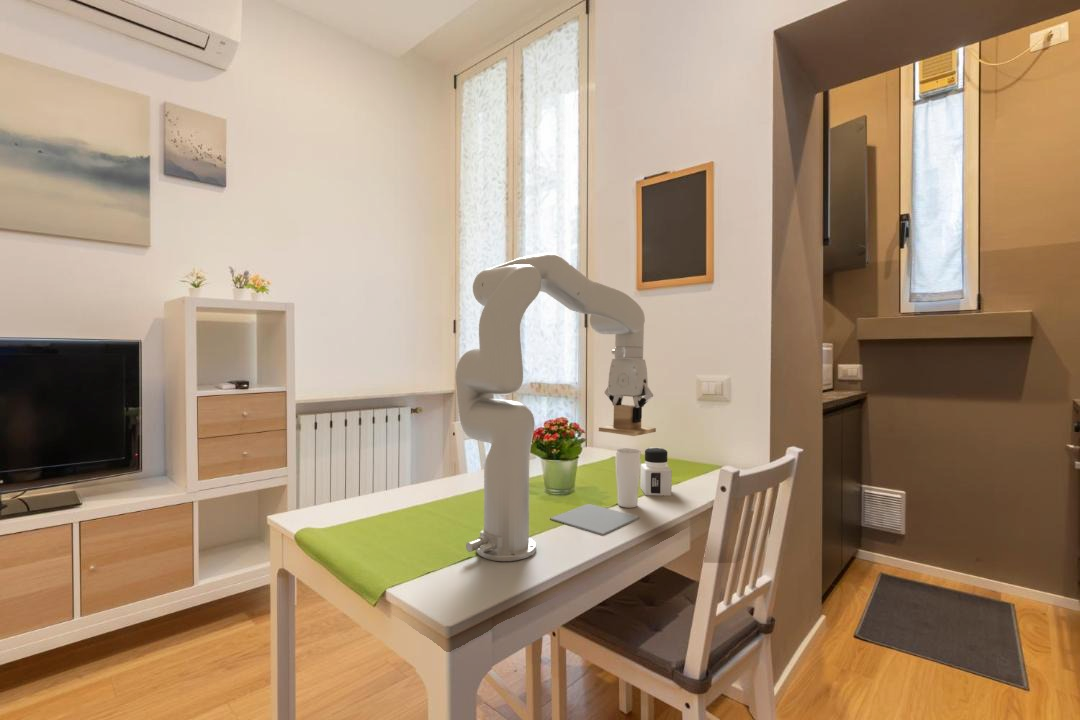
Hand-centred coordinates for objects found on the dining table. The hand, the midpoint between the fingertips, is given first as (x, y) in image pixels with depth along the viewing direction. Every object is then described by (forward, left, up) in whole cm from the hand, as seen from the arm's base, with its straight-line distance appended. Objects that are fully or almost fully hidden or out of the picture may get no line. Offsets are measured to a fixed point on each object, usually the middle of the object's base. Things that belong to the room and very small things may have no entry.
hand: (627, 420), depth 140 cm
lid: (0, 0, -3) cm, 3 cm away
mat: (-15, 0, -23) cm, 27 cm away
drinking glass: (0, 0, -23) cm, 23 cm away
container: (+17, +1, -23) cm, 29 cm away
